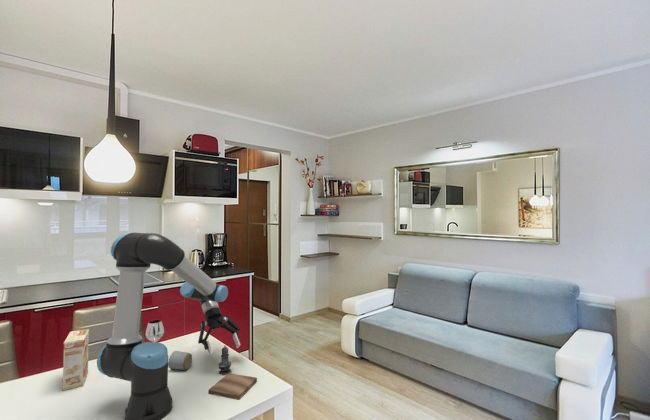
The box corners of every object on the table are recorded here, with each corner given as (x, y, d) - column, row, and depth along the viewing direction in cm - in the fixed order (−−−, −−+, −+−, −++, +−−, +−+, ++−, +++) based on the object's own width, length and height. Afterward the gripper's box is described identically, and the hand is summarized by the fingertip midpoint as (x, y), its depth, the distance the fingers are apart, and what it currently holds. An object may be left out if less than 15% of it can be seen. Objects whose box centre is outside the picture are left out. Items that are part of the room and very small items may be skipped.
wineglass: (158, 361, 152) (158, 324, 152) (141, 361, 152) (142, 324, 152) (166, 354, 160) (167, 318, 161) (151, 354, 160) (151, 318, 161)
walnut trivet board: (239, 399, 121) (239, 395, 121) (208, 393, 125) (208, 389, 125) (256, 381, 134) (256, 377, 134) (228, 376, 138) (228, 372, 138)
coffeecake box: (83, 386, 130) (84, 339, 130) (61, 391, 126) (62, 342, 127) (88, 371, 143) (89, 328, 143) (69, 375, 139) (69, 331, 140)
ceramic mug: (184, 372, 141) (184, 355, 142) (167, 371, 142) (167, 354, 142) (196, 362, 152) (196, 346, 152) (180, 361, 153) (181, 345, 153)
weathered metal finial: (234, 371, 142) (234, 345, 143) (222, 376, 138) (222, 349, 138) (227, 367, 146) (227, 341, 147) (215, 372, 142) (215, 345, 142)
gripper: (232, 309, 166) (246, 346, 155) (183, 320, 149) (196, 363, 138) (237, 301, 162) (252, 339, 152) (188, 312, 145) (201, 355, 134)
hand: (225, 350), depth 145 cm, fingers open, 13 cm apart
